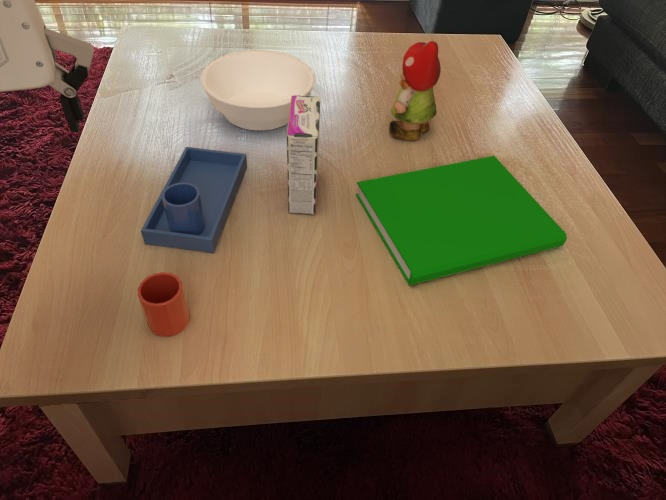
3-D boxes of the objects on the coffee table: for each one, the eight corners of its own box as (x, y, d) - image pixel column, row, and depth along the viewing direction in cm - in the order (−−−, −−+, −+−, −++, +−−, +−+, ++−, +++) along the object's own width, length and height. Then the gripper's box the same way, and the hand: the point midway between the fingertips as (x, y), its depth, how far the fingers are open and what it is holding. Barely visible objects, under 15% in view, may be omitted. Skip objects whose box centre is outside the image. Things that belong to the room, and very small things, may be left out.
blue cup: (199, 241, 83) (193, 208, 78) (164, 236, 84) (156, 203, 79) (209, 217, 87) (204, 184, 82) (176, 213, 87) (169, 180, 82)
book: (355, 194, 94) (357, 181, 92) (489, 168, 102) (494, 155, 100) (410, 288, 80) (413, 275, 78) (561, 248, 88) (568, 235, 85)
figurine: (397, 113, 113) (413, 20, 99) (436, 123, 111) (458, 30, 97) (382, 140, 106) (396, 44, 92) (423, 151, 104) (444, 55, 90)
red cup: (182, 339, 71) (173, 308, 66) (142, 333, 72) (130, 302, 67) (194, 306, 75) (187, 275, 70) (156, 301, 75) (146, 269, 70)
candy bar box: (290, 173, 97) (290, 93, 85) (317, 175, 97) (321, 95, 85) (286, 214, 89) (285, 133, 78) (315, 216, 90) (319, 135, 78)
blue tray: (213, 253, 82) (211, 239, 80) (144, 244, 83) (140, 230, 81) (247, 167, 98) (246, 153, 96) (188, 159, 98) (185, 146, 96)
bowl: (329, 133, 107) (331, 96, 101) (219, 153, 100) (215, 115, 94) (293, 79, 121) (293, 43, 115) (195, 93, 114) (190, 56, 108)
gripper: (-198, -28, 38) (-76, 163, 50) (62, -38, 42) (114, 141, 54) (-164, -62, 43) (-61, 120, 55) (65, -68, 47) (113, 103, 59)
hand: (26, 130), depth 55 cm, fingers open, 9 cm apart
